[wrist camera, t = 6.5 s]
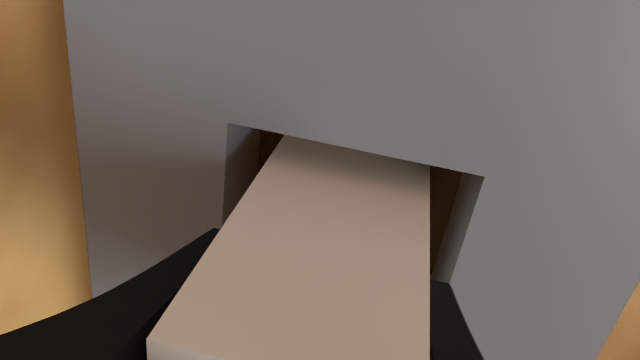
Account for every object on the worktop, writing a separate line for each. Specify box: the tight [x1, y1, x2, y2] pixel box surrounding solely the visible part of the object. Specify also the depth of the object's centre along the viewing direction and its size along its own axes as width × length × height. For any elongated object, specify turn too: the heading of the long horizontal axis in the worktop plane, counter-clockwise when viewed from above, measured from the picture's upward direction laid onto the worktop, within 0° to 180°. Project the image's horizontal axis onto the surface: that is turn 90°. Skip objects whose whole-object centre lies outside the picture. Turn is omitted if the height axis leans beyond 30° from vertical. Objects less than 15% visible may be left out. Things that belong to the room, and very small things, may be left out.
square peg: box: [146, 135, 430, 360], centre depth 11 cm, size 4×4×8 cm
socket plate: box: [63, 0, 640, 360], centre depth 14 cm, size 16×14×3 cm
